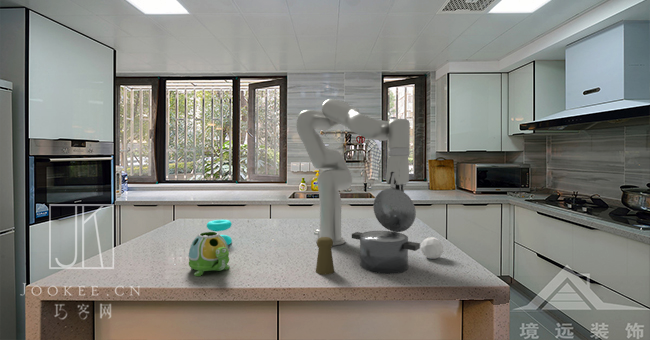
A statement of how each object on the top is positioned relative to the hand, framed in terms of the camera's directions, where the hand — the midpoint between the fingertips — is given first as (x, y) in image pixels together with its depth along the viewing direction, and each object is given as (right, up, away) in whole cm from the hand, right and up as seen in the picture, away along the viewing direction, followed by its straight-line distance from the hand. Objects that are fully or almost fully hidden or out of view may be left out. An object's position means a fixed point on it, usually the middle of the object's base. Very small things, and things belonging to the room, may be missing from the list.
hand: (398, 203), depth 112 cm
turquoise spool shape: (-72, -20, +17) cm, 76 cm away
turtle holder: (-64, -21, -12) cm, 68 cm away
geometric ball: (+12, -20, 0) cm, 24 cm away
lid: (-3, -2, -3) cm, 5 cm away
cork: (-27, -21, -13) cm, 37 cm away
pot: (-7, -20, -8) cm, 23 cm away
